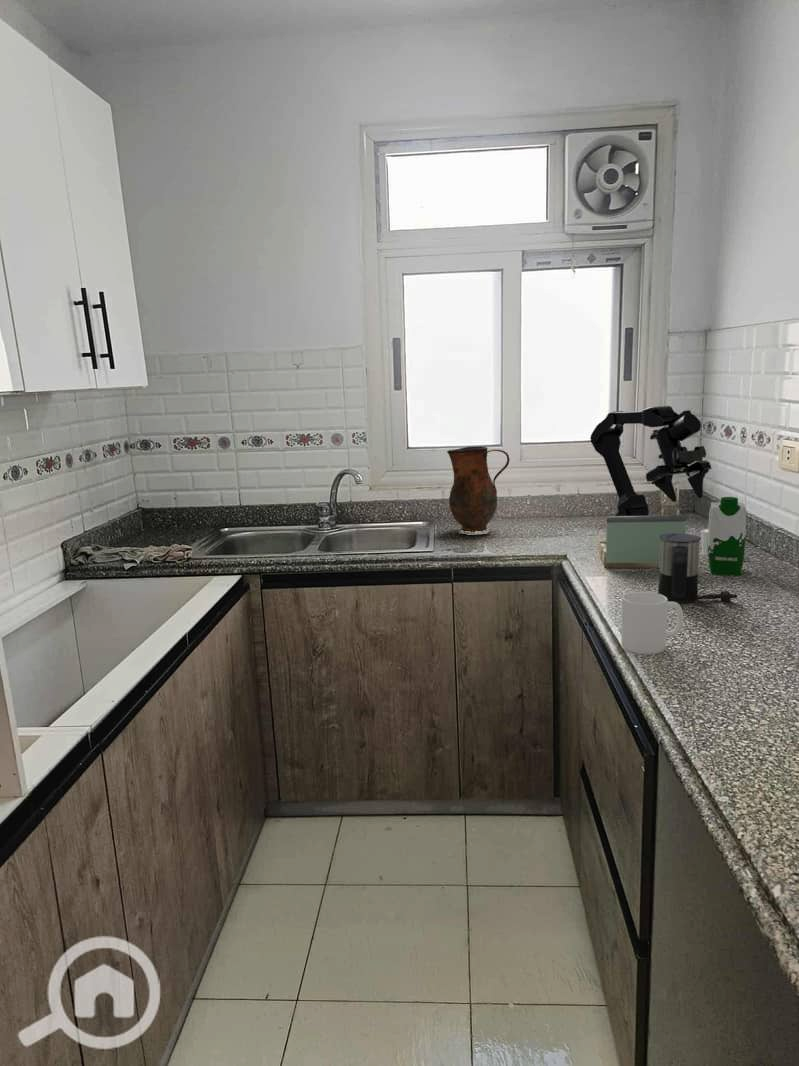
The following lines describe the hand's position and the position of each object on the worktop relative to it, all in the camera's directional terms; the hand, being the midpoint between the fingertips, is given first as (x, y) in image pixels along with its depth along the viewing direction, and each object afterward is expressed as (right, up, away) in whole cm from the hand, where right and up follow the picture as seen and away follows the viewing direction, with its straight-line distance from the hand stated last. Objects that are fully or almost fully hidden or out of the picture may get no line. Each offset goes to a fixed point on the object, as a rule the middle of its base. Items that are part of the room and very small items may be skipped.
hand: (687, 499), depth 196 cm
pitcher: (-51, -9, +53) cm, 74 cm away
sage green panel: (-13, -17, -1) cm, 21 cm away
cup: (-30, -32, -57) cm, 72 cm away
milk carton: (+6, -20, -8) cm, 22 cm away
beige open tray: (-12, -17, +5) cm, 21 cm away
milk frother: (-11, -25, -30) cm, 41 cm away
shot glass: (+11, -16, +10) cm, 21 cm away
